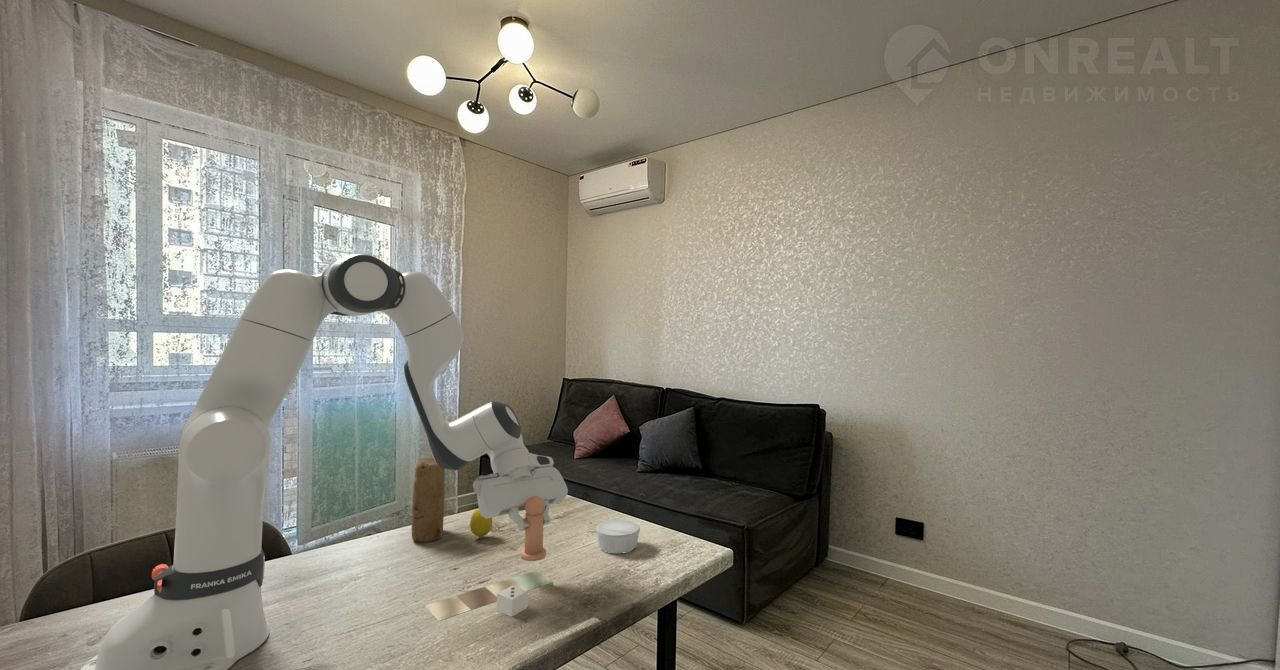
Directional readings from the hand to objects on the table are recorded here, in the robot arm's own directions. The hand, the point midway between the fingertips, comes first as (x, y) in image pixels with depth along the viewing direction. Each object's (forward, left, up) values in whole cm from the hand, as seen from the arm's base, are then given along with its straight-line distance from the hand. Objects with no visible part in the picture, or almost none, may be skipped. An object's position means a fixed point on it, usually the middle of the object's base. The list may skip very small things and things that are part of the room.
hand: (535, 525), depth 107 cm
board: (-9, +1, -12) cm, 15 cm away
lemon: (+3, +32, -13) cm, 34 cm away
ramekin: (+27, +5, -13) cm, 30 cm away
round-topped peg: (0, +1, -7) cm, 7 cm away
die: (-9, -7, -12) cm, 17 cm away
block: (-7, +42, -13) cm, 44 cm away
